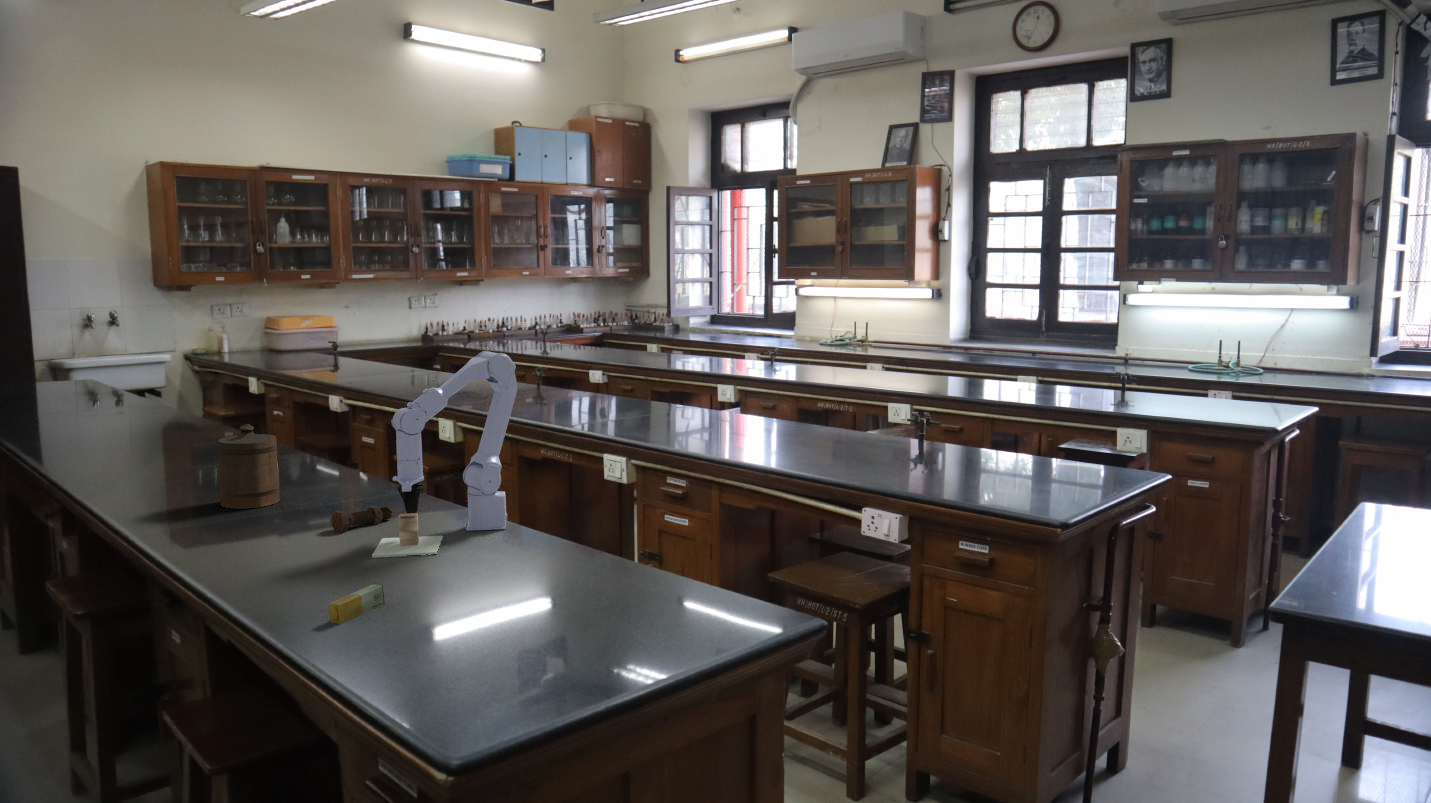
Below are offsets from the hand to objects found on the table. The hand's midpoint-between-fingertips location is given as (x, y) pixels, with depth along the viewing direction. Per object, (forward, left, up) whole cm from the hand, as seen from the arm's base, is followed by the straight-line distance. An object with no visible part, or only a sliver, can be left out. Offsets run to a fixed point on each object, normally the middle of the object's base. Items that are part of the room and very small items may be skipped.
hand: (411, 514), depth 231 cm
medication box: (+3, +50, -6) cm, 51 cm away
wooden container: (+49, -45, -6) cm, 66 cm away
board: (0, +7, -6) cm, 10 cm away
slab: (0, +6, -5) cm, 8 cm away
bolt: (+14, -15, -6) cm, 21 cm away
